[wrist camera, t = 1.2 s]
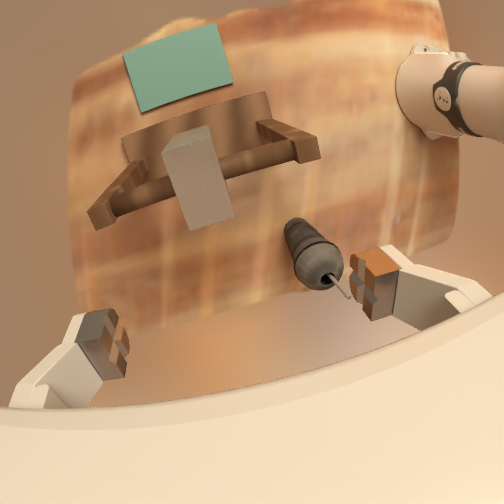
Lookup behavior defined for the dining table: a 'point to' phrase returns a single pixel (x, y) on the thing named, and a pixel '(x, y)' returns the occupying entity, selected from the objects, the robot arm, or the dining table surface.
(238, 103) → the stand
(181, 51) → the mat
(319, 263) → the beverage cup
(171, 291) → the dining table surface
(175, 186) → the tall rectangular pillar
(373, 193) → the dining table surface
